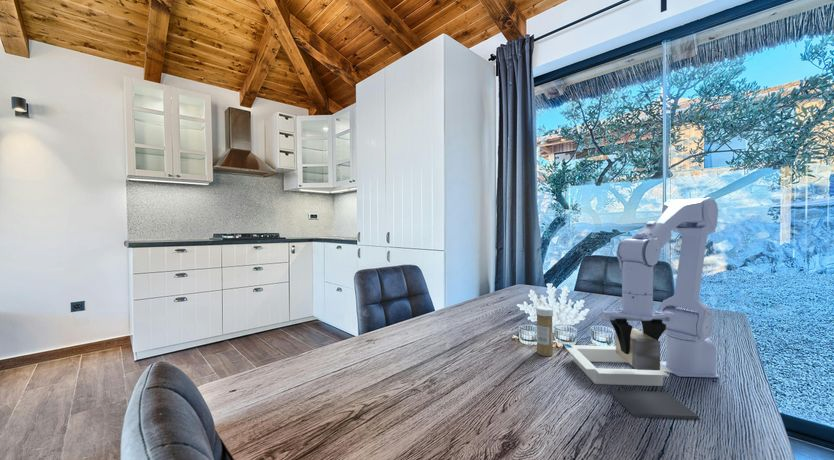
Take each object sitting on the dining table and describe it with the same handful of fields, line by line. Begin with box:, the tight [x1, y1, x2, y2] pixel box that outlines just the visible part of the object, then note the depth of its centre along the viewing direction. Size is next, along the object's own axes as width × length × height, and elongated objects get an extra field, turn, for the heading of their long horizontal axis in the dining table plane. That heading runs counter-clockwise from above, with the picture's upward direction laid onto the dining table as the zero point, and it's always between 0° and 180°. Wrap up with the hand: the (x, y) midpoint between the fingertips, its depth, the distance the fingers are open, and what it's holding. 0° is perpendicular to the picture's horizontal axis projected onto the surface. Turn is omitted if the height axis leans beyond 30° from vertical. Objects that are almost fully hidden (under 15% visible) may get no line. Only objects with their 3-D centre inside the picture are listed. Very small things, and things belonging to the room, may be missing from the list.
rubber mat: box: [610, 389, 700, 420], centre depth 68 cm, size 12×9×1 cm
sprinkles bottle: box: [535, 305, 554, 357], centre depth 95 cm, size 5×5×13 cm
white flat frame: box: [565, 344, 673, 387], centre depth 83 cm, size 19×17×4 cm
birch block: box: [615, 327, 661, 370], centre depth 74 cm, size 5×9×6 cm, turn 175°
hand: (636, 352), depth 73 cm, fingers closed on birch block, 4 cm apart
